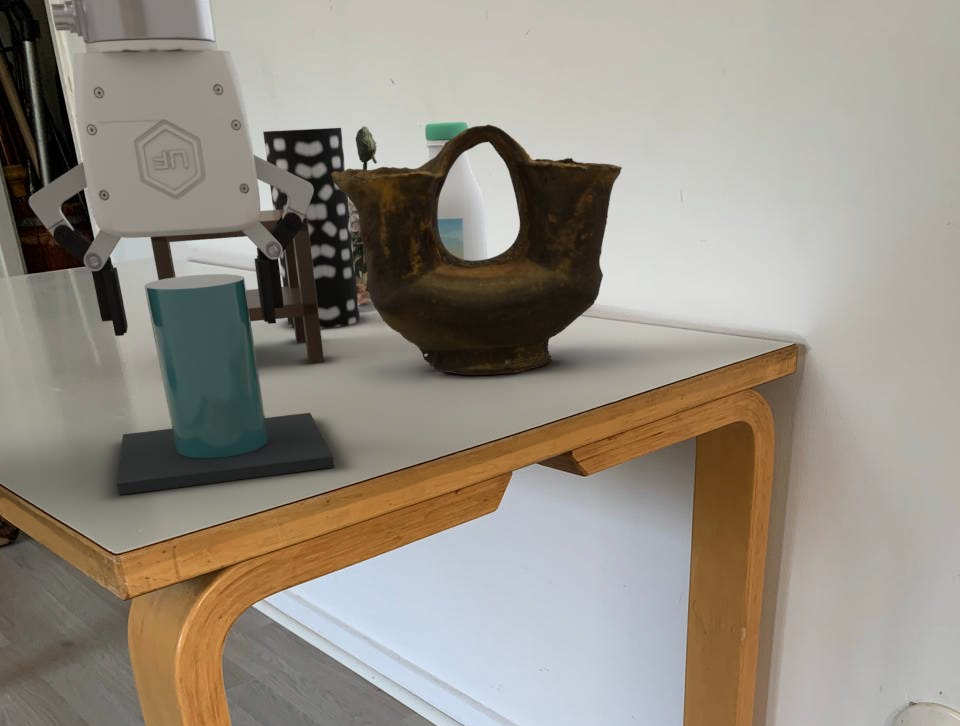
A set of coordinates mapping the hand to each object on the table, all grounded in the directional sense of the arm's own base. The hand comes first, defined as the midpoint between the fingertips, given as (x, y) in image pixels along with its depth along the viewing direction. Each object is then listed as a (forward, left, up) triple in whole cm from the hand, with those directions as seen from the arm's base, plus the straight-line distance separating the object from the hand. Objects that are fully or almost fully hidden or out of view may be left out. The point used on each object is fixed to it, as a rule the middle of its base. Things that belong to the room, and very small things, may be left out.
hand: (196, 326), depth 66 cm
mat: (0, 0, -9) cm, 9 cm away
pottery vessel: (+25, +19, -9) cm, 33 cm away
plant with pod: (+20, +59, -9) cm, 63 cm away
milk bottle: (+29, +45, -9) cm, 54 cm away
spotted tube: (+14, +49, -9) cm, 52 cm away
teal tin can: (0, +1, -8) cm, 8 cm away
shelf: (+4, +33, -9) cm, 35 cm away
